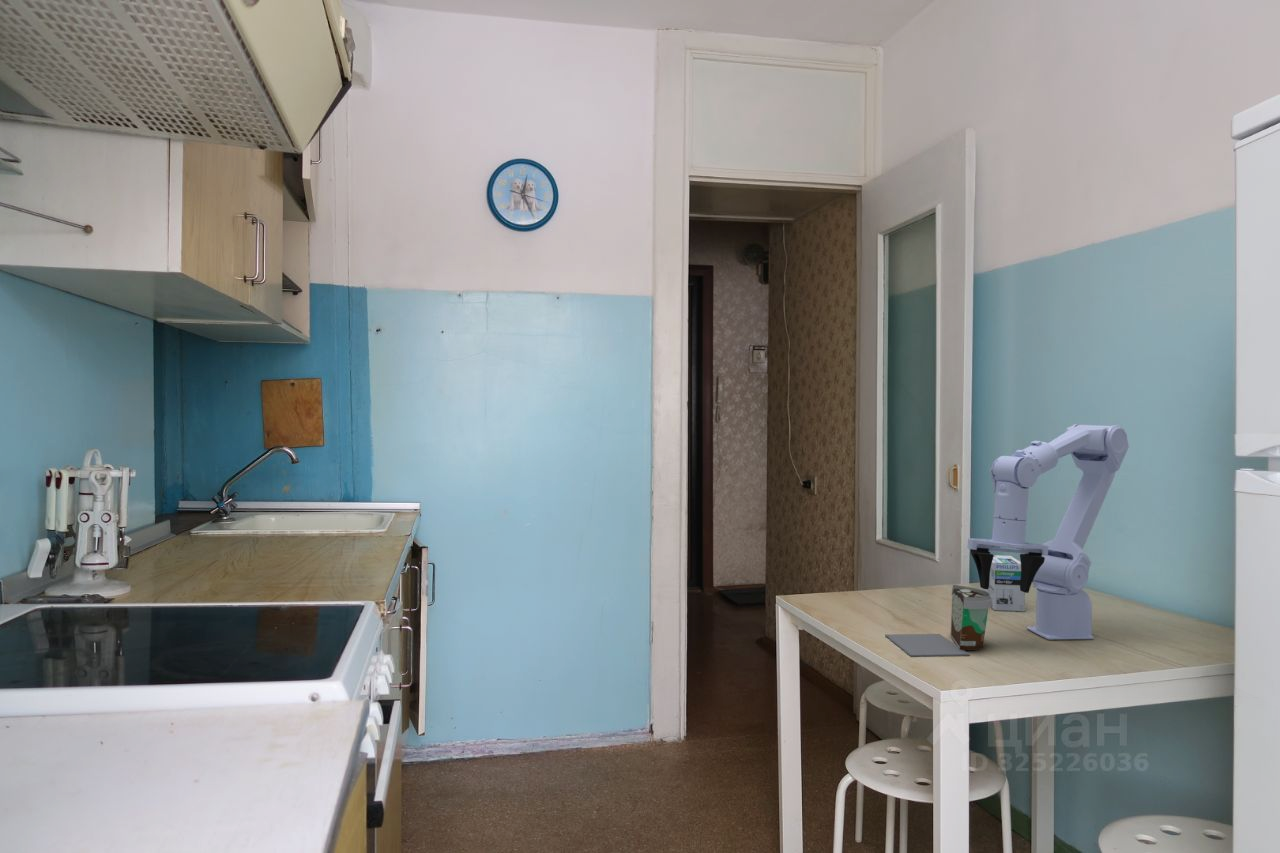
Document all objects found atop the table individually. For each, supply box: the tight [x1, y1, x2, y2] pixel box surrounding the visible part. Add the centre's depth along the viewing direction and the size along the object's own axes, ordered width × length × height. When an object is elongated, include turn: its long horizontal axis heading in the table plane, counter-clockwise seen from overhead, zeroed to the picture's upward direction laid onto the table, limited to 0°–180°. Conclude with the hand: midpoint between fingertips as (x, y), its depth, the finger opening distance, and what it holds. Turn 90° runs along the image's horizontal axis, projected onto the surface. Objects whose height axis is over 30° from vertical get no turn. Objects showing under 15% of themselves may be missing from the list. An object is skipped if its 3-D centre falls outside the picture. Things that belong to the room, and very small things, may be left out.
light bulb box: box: [982, 554, 1026, 612], centre depth 184 cm, size 11×7×11 cm, turn 171°
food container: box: [950, 584, 993, 651], centre depth 154 cm, size 12×6×10 cm, turn 169°
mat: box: [884, 633, 971, 658], centre depth 154 cm, size 11×13×1 cm
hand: (1004, 590), depth 154 cm, fingers open, 7 cm apart
